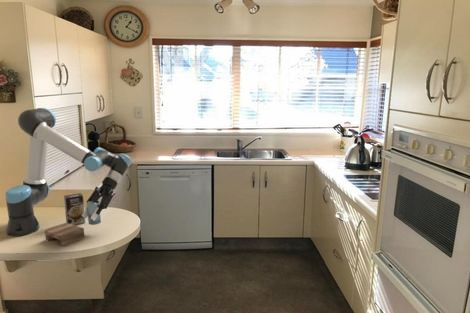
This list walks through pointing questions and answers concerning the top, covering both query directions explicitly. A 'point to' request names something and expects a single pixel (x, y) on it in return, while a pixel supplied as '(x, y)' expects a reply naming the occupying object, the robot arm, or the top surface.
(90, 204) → the clear cup
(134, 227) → the top surface
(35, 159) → the robot arm
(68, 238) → the walnut shelf
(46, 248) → the top surface
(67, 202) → the coffee box
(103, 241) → the top surface
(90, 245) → the top surface
